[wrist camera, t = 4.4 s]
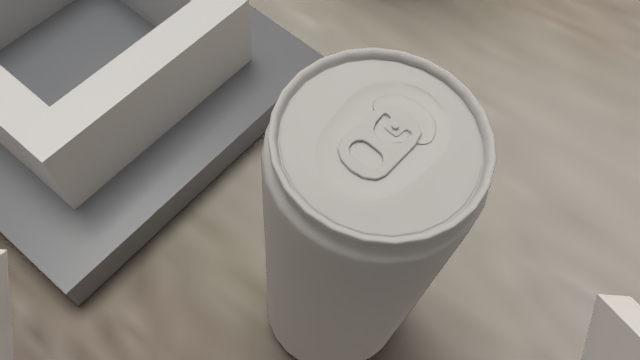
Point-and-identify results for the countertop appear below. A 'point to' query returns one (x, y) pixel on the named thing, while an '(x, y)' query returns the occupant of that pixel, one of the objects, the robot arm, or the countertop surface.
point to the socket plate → (125, 120)
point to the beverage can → (366, 196)
